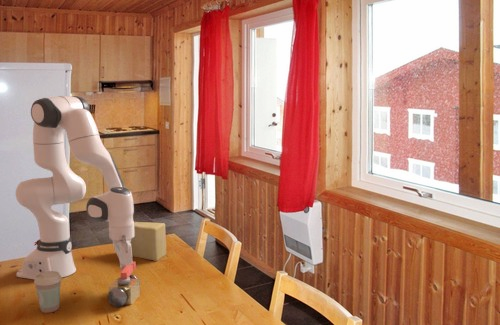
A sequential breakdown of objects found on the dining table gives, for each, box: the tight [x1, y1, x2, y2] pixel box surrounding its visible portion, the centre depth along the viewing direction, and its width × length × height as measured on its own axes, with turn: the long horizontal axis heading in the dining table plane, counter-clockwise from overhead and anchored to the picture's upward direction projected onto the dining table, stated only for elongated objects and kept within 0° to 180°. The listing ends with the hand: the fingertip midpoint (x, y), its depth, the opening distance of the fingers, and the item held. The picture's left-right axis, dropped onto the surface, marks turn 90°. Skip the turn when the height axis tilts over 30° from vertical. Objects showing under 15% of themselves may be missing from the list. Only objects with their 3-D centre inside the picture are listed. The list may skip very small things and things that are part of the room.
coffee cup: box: [33, 271, 63, 314], centre depth 168 cm, size 8×9×12 cm
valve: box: [107, 274, 141, 308], centre depth 175 cm, size 8×13×6 cm, turn 171°
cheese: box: [130, 221, 167, 262], centre depth 219 cm, size 22×10×15 cm, turn 72°
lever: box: [116, 260, 137, 285], centre depth 179 cm, size 13×4×4 cm, turn 178°
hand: (123, 269), depth 182 cm, fingers closed
